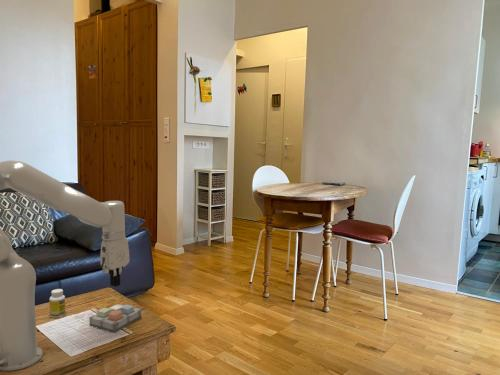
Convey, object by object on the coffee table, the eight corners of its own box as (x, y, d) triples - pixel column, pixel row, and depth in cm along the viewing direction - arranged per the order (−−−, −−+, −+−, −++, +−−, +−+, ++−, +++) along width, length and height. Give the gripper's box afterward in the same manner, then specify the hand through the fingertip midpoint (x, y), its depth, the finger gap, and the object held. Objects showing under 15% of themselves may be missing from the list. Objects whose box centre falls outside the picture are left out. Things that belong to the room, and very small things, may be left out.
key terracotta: (115, 322, 139) (115, 315, 139) (108, 320, 141) (108, 313, 141) (122, 318, 142) (122, 312, 142) (115, 317, 144) (115, 310, 144)
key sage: (104, 319, 142) (104, 312, 141) (97, 317, 143) (97, 310, 143) (111, 315, 145) (111, 309, 144) (104, 314, 146) (104, 307, 146)
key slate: (127, 316, 145) (127, 309, 145) (120, 314, 146) (120, 307, 146) (133, 312, 148) (133, 306, 148) (127, 311, 149) (126, 304, 149)
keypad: (114, 333, 137) (114, 324, 137) (89, 325, 142) (89, 317, 142) (141, 317, 150) (141, 309, 149) (117, 311, 155) (117, 303, 154)
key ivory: (116, 316, 147) (116, 309, 147) (109, 314, 149) (109, 308, 148) (123, 312, 150) (122, 306, 150) (116, 311, 152) (116, 304, 151)
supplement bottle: (61, 318, 148) (60, 293, 147) (47, 318, 148) (46, 293, 147) (68, 312, 153) (67, 288, 152) (54, 312, 153) (53, 288, 152)
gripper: (105, 241, 130) (107, 294, 132) (136, 232, 144) (137, 280, 146) (89, 238, 133) (91, 290, 135) (121, 230, 147) (122, 277, 149)
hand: (115, 285), depth 140 cm, fingers closed
